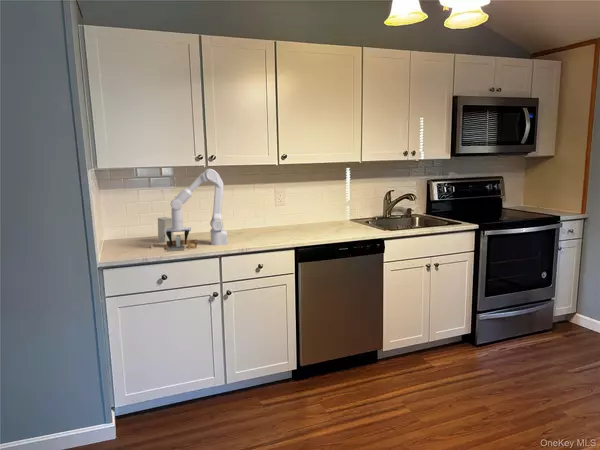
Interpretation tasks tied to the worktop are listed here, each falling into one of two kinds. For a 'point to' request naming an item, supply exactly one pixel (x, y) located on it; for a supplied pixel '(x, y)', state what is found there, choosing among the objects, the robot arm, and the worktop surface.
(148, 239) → the worktop surface
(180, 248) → the holder
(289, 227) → the worktop surface
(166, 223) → the skincare box
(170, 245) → the wooden tray
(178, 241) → the grey flat block
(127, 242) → the worktop surface
